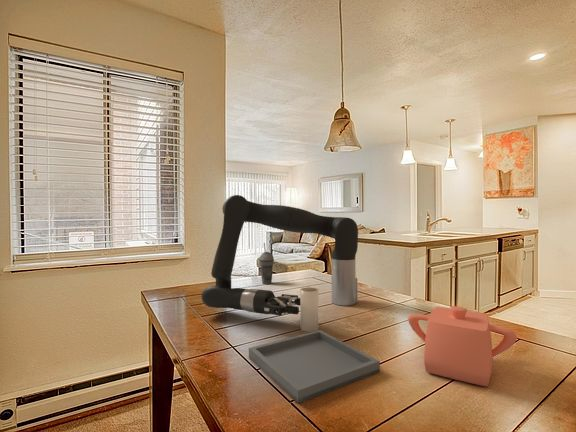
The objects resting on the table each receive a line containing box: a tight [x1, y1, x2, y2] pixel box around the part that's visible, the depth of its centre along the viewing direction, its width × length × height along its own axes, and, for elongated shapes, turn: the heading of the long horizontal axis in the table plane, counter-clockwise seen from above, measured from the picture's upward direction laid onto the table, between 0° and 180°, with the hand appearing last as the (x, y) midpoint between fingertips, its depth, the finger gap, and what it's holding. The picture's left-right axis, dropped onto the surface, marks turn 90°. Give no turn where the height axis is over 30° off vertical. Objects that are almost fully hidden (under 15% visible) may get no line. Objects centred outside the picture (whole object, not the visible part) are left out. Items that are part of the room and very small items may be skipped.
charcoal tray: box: [248, 329, 381, 405], centre depth 76 cm, size 22×22×2 cm
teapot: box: [407, 305, 518, 387], centre depth 76 cm, size 20×22×14 cm
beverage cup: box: [258, 242, 275, 285], centre depth 158 cm, size 7×7×20 cm
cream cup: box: [299, 286, 319, 333], centre depth 99 cm, size 6×6×12 cm
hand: (303, 306), depth 99 cm, fingers open, 8 cm apart
